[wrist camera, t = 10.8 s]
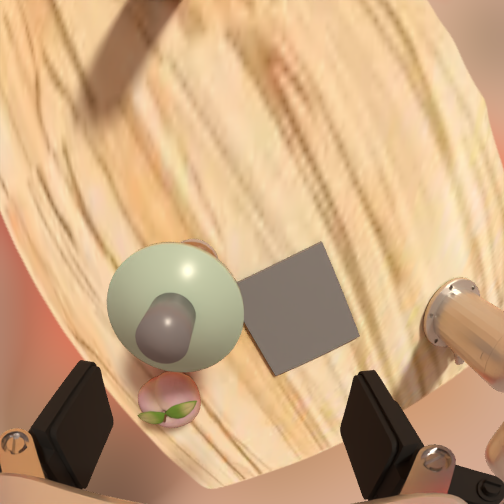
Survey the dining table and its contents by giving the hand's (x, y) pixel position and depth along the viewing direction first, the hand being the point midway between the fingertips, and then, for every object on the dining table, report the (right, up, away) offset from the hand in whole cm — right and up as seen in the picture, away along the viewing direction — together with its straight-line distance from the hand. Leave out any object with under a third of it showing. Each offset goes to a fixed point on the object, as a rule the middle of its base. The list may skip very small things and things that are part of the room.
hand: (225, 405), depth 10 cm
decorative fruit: (-11, -15, +36) cm, 40 cm away
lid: (-6, 0, +17) cm, 18 cm away
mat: (+7, -3, +34) cm, 35 cm away
